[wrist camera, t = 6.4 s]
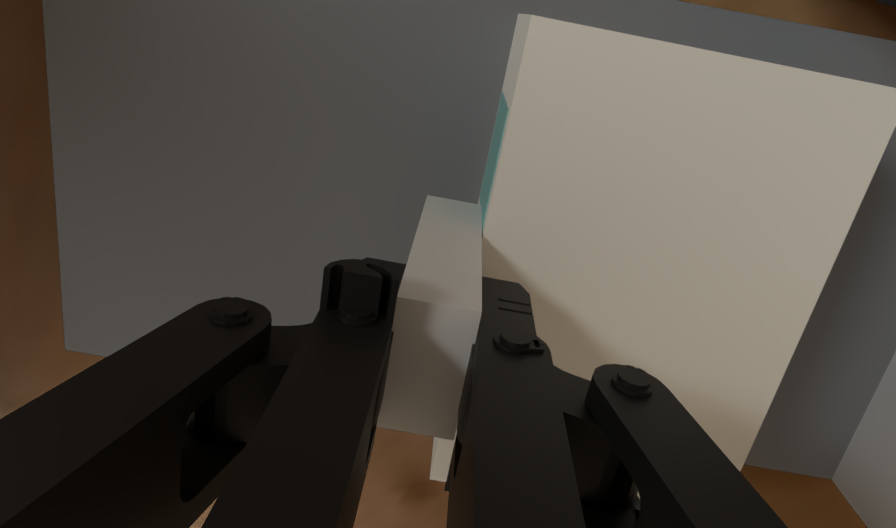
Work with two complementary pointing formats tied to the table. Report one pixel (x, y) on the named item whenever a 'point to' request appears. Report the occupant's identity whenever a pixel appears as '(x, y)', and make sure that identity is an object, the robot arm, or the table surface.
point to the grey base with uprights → (396, 175)
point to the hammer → (888, 2)
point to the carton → (673, 209)
